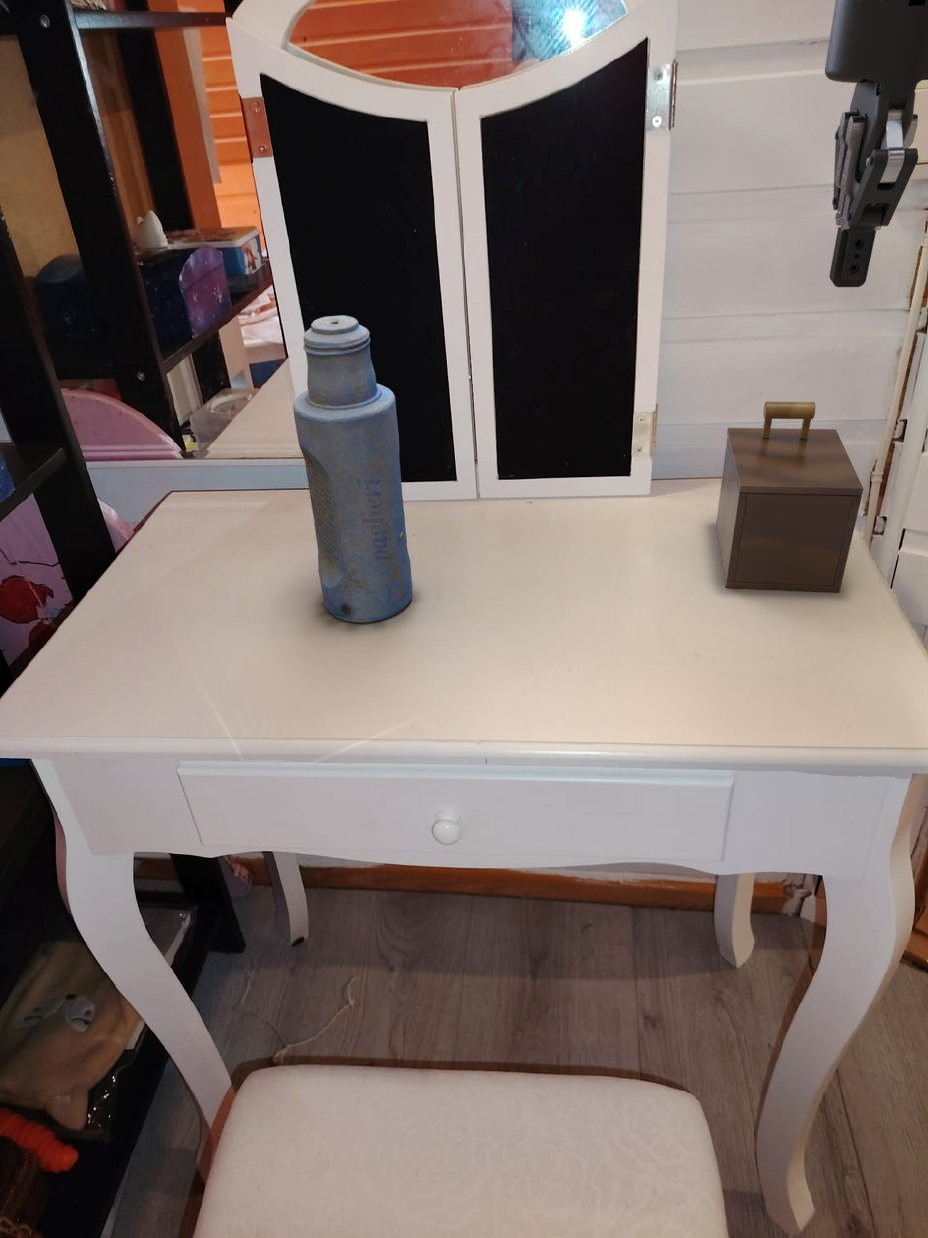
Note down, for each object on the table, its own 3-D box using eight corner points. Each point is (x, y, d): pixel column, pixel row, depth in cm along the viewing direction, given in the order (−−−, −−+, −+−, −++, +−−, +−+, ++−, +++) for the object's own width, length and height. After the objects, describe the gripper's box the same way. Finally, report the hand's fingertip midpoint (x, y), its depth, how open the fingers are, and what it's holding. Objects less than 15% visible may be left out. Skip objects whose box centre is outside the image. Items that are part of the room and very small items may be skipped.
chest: (715, 525, 105) (727, 437, 99) (817, 528, 104) (836, 438, 97) (725, 587, 94) (739, 493, 88) (839, 592, 93) (862, 496, 86)
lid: (726, 434, 99) (732, 393, 97) (834, 435, 98) (843, 393, 95) (739, 492, 88) (745, 448, 85) (862, 495, 86) (872, 450, 83)
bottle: (310, 593, 98) (261, 319, 80) (390, 566, 102) (359, 299, 84) (346, 635, 91) (300, 345, 74) (430, 604, 95) (405, 322, 77)
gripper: (819, -11, 59) (779, 261, 69) (861, -10, 48) (806, 312, 58) (939, -18, 58) (880, 260, 68) (1009, -19, 47) (927, 311, 57)
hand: (846, 284), depth 63 cm, fingers closed
